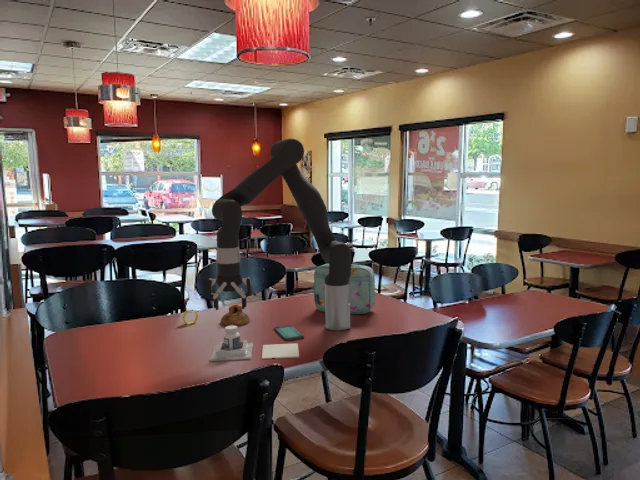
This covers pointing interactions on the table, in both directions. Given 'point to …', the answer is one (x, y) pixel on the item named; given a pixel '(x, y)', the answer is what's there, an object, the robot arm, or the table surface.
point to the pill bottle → (231, 338)
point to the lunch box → (358, 288)
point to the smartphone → (288, 333)
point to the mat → (280, 351)
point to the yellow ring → (190, 311)
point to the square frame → (232, 352)
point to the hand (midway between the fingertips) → (230, 309)
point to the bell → (235, 317)
